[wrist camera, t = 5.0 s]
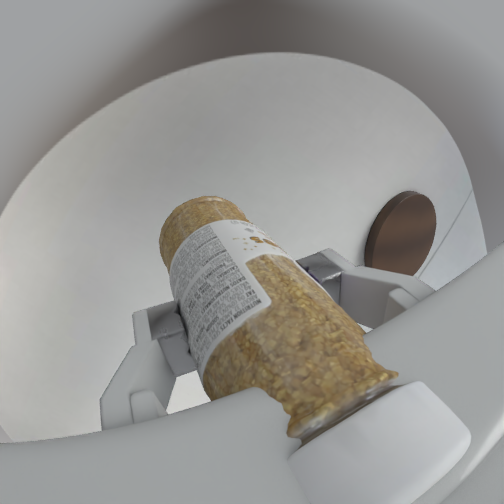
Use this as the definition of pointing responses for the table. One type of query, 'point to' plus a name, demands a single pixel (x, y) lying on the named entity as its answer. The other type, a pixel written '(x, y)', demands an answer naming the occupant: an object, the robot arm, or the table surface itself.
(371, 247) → the disc
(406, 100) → the table surface
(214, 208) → the sprinkles bottle
